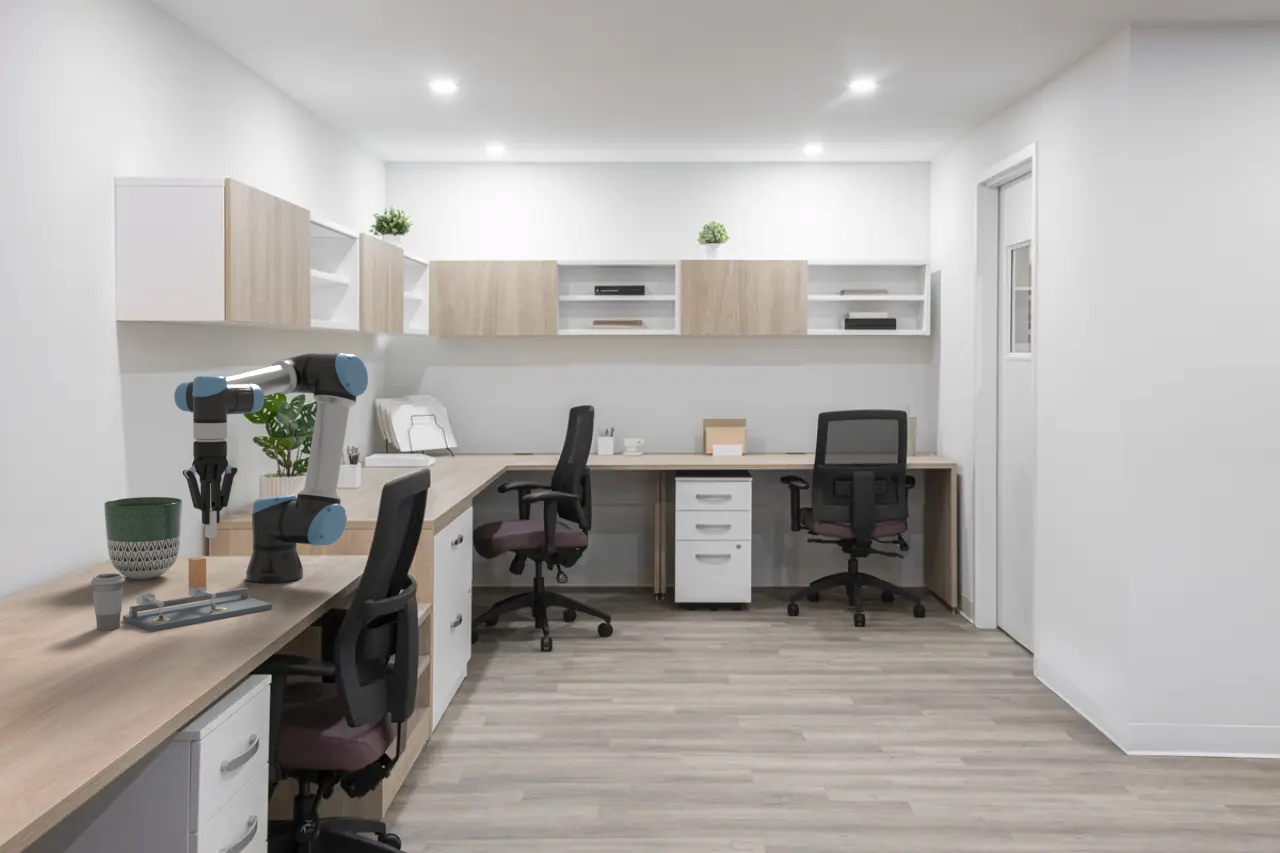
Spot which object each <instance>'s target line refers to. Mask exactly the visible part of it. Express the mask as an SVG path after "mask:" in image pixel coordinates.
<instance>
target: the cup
mask: <svg viewBox="0 0 1280 853" xmlns="http://www.w3.org/2000/svg"><path fill="white" fill-rule="evenodd" d="M123 576H124V575H123V574H121V573H120V572H109V573H107V572H106V573H99V574H95V575H93V577H92V579H91V581H90V584H91V585H92V586H93V587H92V588H93V589H92V595H93V596H92V597H93V606H94V614H95V621H96V629H97V630H99V631H112V630H115V629H116V630H117V629H119V628H120V627H121V614H122V610H123V609H122V608H123V595H124V594H123V592H124V587H123V583H124V582H125V581H126V579H125V576H124V577H123Z"/></svg>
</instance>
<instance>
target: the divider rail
mask: <svg viewBox="0 0 1280 853" xmlns="http://www.w3.org/2000/svg"><path fill="white" fill-rule="evenodd" d="M214 593H216V597H215V599H222V598H228V597H234V596H239V595H241V598H249V597H250V593H249V588H248V587H239V588H234V589H227V590H222V591H217V592H216V591H215V592H214ZM135 596H136V598H135V599H136V604H137V605H133V606H129V611H128V615H129V617H131V618H135V617H137V613H140V612H146V611H152V610H158V609H159V619H163V609H164V608H169V607H175V606H181V605H187V604H193V603H199V602H204V601H210V600H211V597H209V596H206V595H202V596H196V597H194V596H191V595H190V596H187V597H180V598H175V599H168V600H167V599H166V600H158V599H156V594H153V593H150V592H148V593H143V594H142V593H141V594H136V595H135Z"/></svg>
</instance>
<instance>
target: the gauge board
mask: <svg viewBox="0 0 1280 853" xmlns="http://www.w3.org/2000/svg"><path fill="white" fill-rule="evenodd" d="M272 609H273V604H272V603H271V602H267V601H264V600H261V599H257V598H254V597H250V596H249V598H241V594H238V595H233V596H227V597H221V598H215V609H214V610H211V599H209V600H204V601H198V602H192V603H186V604H180V605H175V606H169V607H163V619H159V608H157V609H151V610H146V611H140V612H137V617H135V618H131V617H129V614H125V615H122V621H123V622H126V623H128V624H131V625H133V626H136V627H138V628H141V629H144V630H147V631H149V632H155V631H160V630H166V629H170V628H175V627H176V628H177V627H181V626H187V625H192V624H197V623H202V622H203V623H204V622H208V621H213V620H219V619H225V618H230V617H235V616H240V615H241V616H242V615H246V614H250V613H251V614H252V613H256V612H261V611H266V610H272Z"/></svg>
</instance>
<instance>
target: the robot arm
mask: <svg viewBox="0 0 1280 853" xmlns="http://www.w3.org/2000/svg"><path fill="white" fill-rule="evenodd" d="M368 382H369V375H368V371H367V367H366V366H365V362H364V361H363V360H362V358H360V357H359V356H357V355H355V354H350V353H344V352H340V353H318V352H313V353H312V352H311V353H303V354H301V355H296V356H292V357H288V358H285V359H280V360H277V361H275V362H273V363H272V364H271V365H270V366H265V367H261V368H257V369H256V368H255V369H252V370H248V371H245V372H238V373H233V374H230V375H225V376H222V375H221V376H219V375H216V376H215V375H214V376H213V375H212V376H211V375H198V376H197V375H196V377H194V378H193V381H189V382H188V381H187V382H186V381H185V382H182V383H180V384H179V385H178V386H177V387H176V388H175V390H174V395H173V397H174V403H175V405H176V407H177V408H178V409H179V410H181V411H183V412H190V413H192V414H193V415H192V418H193V423H192V427H193V428H192V430H193V436H192V438H193V439H194V442H192V443H193V444H192V445H193V446H192V448H193V450H192V452H193V462H192V464H191V467H189V468H188V469H183V471H182V475H183V476H184V478H185V479H186V482H187V487H188V490H189V493H190V498H191V503H192V505H193V509H197V510H199V511H201V524H202V525H204V537H205V538H208V539H216V538H218V537H217V535H218V534H217V533H218V531H217V527H218V526H217V524H220V522H221V519H220V516H221V514H220V512H221V511H222V510H223V508H226V507H227V506H228V504H229V500H230V495H231V490H232V487H233V482H234V478H235V475H236V474H237V473H238V468H237V467H233V465H230V464H229V461H228V458H227V456H228V442H227V441H226V439H227V438H228V423H227V422H228V415H241V414H243V415H246V414H247V415H250V414H253V413H257V412H259V411H260V410H261V409H262V408H263V406H264V404H265V397H267V396H271V395H274V394H278V393H279V394H281V395H289V394H293V393H294V394H295V393H297V394H301V393H302V394H312V396H313V399H314V401H315V402H316V404H317V408H316V415H315V420H314V425H313V431H312V432H313V433H312V439H311V445H310V449H309V450H310V451H309V458H308V464H307V471H306V474H305V476H306V477H305V482H304V488H303V489H302V490H300V491H299V492H297V495H295V494H284V495H275V496H268V497H261V498H257V499H255V500H254V502H253V503H252V513H251V516H252V517H251V519H252V520H251V521H252V525H251V526H252V527H251V528H252V553H251V557H250V560H249V562H248V564H247V565H248V566H247V568H246V571H245V574H246V576H245V578H246V579H245V580H247V581H249V582H252V583H262V584H263V583H265V584H267V583H268V584H269V583H271V584H274V583H275V584H276V583H285V582H286V583H287V582H293V581H296V580H300V579H302V578H303V577H304V568H303V564H302V562H301V559H300V556H299V553H298V550H297V544H302V545H312V546H315V547H318V546H331V545H333V544H335V543H336V542H337V541H338V540H339V539H340V538H341V536H342V535H343V534H344V532H345V529H346V526H347V520H348V517H347V516H348V515H347V513H346V508H344V506H342V505H341V501H342V499H341V497H340V496H339V495H338V493H337V488H338V484H339V477H340V470H341V463H342V457H343V456H342V455H343V451H344V444H345V437H346V431H347V427H348V426H347V425H348V420H349V419H348V418H349V412H350V409H351V408H352V407H353V406H355V405H356V403H357V397H359V396H361V395H363V394H364V393H365V391H366V390H367V388H368V385H369V383H368ZM223 474H224V475H223ZM197 475H198V477H199V484H200V487H199V484H198V480H197V477H196V476H197ZM222 475H223V479H222Z"/></svg>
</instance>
